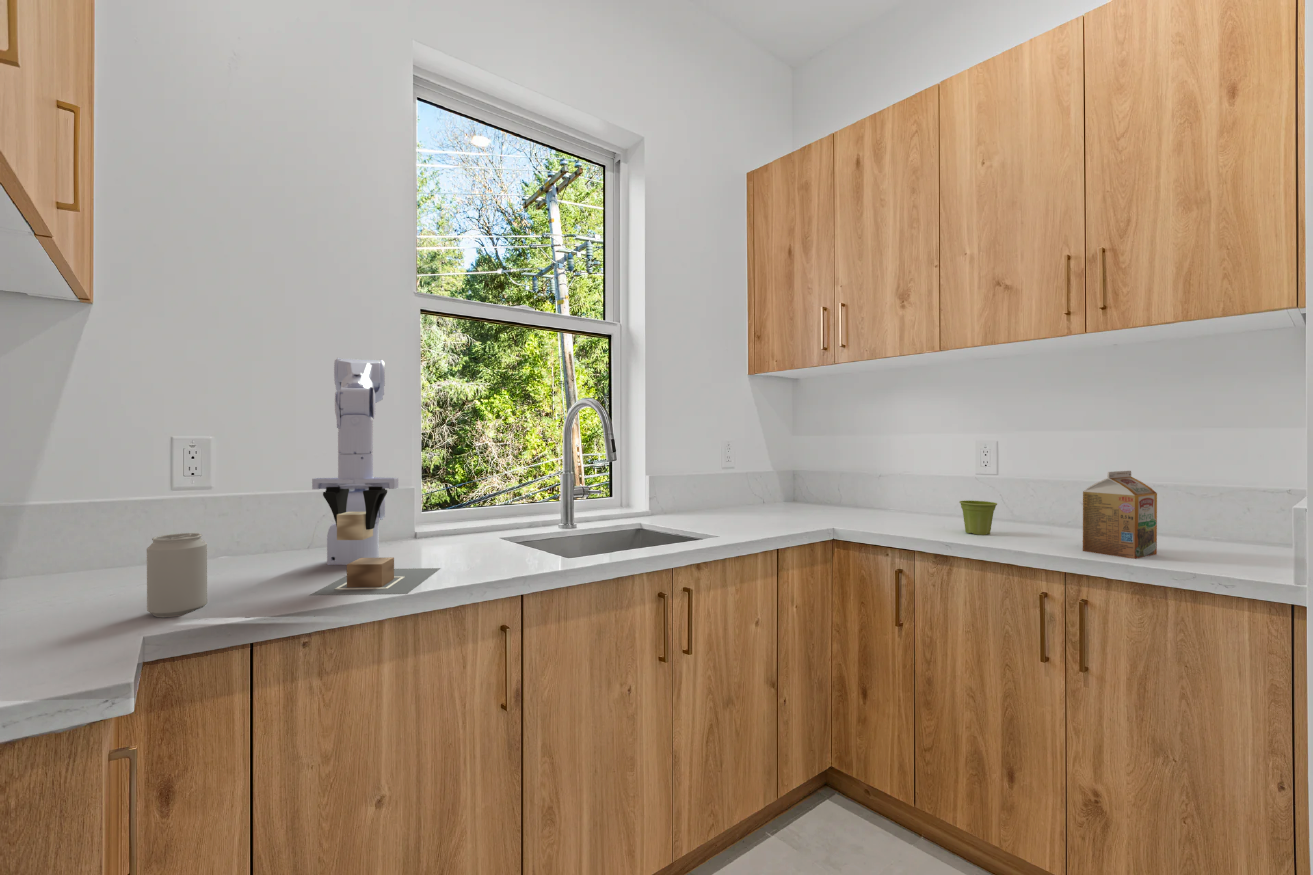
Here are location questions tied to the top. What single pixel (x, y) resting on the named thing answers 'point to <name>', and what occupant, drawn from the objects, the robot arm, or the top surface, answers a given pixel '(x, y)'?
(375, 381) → the robot arm
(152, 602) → the can
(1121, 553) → the milk carton
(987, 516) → the plant pot
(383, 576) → the walnut block
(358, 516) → the maple cube
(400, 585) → the gray mat
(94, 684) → the top surface
